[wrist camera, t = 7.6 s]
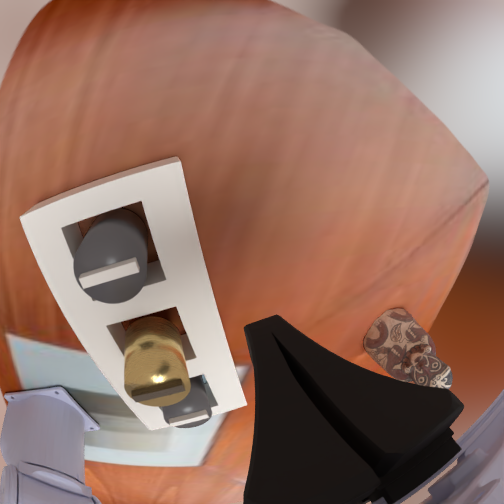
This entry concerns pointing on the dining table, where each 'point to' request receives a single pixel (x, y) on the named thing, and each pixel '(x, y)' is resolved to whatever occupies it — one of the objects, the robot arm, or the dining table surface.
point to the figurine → (406, 350)
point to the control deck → (156, 285)
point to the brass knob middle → (155, 363)
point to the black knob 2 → (190, 407)
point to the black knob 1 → (113, 257)
